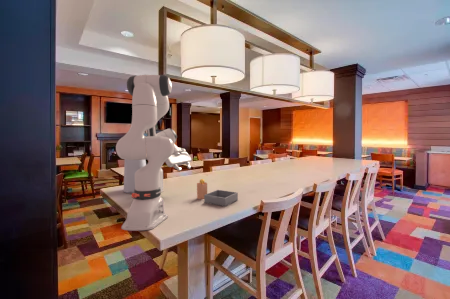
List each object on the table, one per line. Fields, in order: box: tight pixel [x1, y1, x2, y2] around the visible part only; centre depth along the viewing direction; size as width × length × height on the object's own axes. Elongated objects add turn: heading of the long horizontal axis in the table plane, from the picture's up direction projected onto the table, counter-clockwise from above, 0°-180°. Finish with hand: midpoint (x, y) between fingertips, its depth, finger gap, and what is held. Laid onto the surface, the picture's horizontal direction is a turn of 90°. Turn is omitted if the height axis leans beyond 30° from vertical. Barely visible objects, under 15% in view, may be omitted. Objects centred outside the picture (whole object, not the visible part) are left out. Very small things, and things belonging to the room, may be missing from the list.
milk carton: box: [159, 168, 164, 193], centre depth 158 cm, size 7×7×19 cm
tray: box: [203, 189, 239, 207], centre depth 136 cm, size 14×14×5 cm
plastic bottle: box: [123, 159, 147, 194], centre depth 163 cm, size 15×15×28 cm
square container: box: [196, 181, 208, 201], centre depth 143 cm, size 4×4×10 cm
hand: (185, 169), depth 149 cm, fingers open, 8 cm apart
